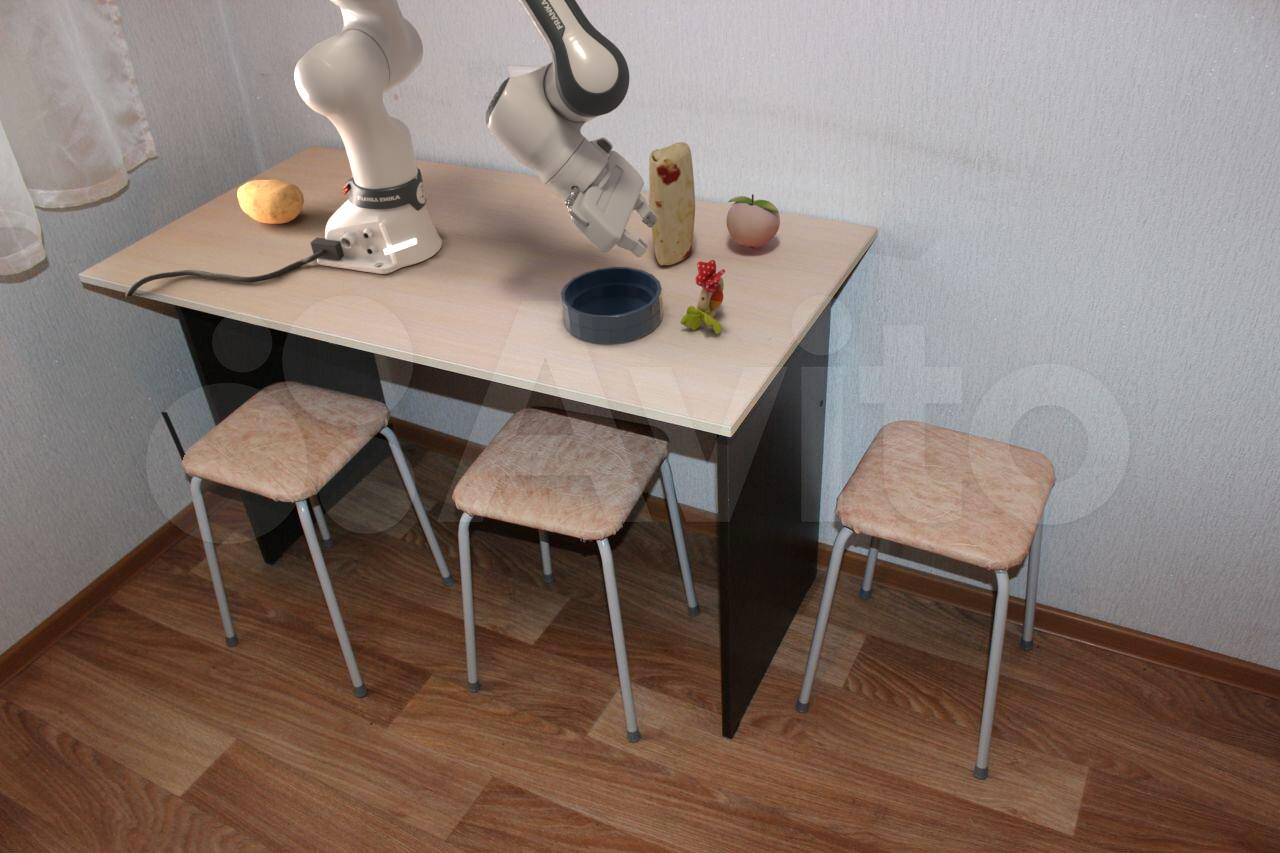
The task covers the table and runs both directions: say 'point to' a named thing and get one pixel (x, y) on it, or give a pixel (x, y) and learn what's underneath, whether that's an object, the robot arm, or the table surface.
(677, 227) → the food model
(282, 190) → the potato
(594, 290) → the bowl
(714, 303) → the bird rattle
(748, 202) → the decorative fruit
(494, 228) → the table surface
